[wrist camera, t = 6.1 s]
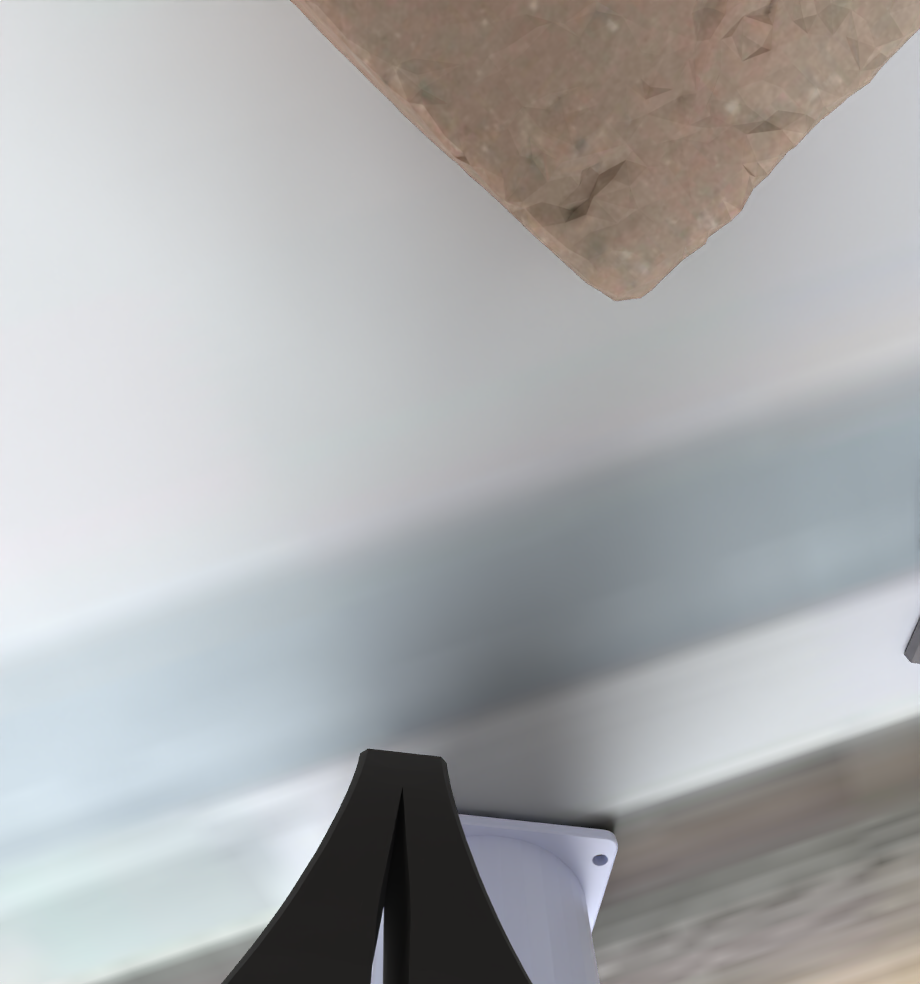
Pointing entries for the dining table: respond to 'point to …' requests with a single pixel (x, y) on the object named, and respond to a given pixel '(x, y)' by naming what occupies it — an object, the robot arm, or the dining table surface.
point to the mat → (914, 646)
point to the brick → (617, 105)
